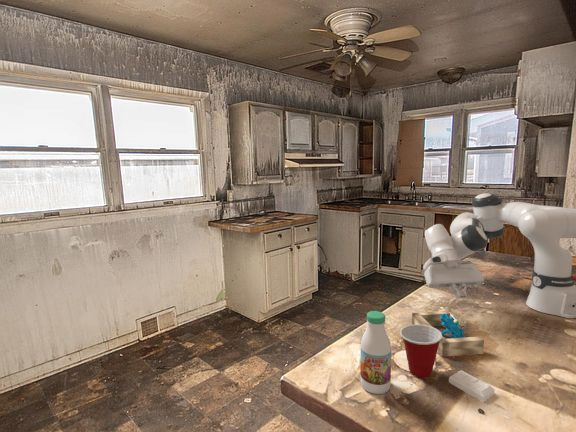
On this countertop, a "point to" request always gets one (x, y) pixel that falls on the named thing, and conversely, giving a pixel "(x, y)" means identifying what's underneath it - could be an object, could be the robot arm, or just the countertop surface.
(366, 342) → the milk bottle
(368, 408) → the countertop surface
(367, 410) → the countertop surface
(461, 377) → the soap bar
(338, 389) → the countertop surface
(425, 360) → the plastic cup
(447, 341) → the carrier pocket
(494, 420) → the countertop surface
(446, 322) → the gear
